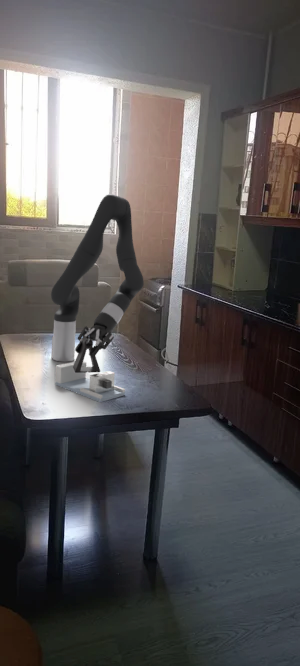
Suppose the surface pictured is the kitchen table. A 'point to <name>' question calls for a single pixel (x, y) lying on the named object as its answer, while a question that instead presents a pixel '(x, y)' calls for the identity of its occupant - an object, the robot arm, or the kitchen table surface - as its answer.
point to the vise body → (82, 383)
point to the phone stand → (80, 358)
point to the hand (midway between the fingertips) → (83, 353)
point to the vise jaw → (102, 382)
